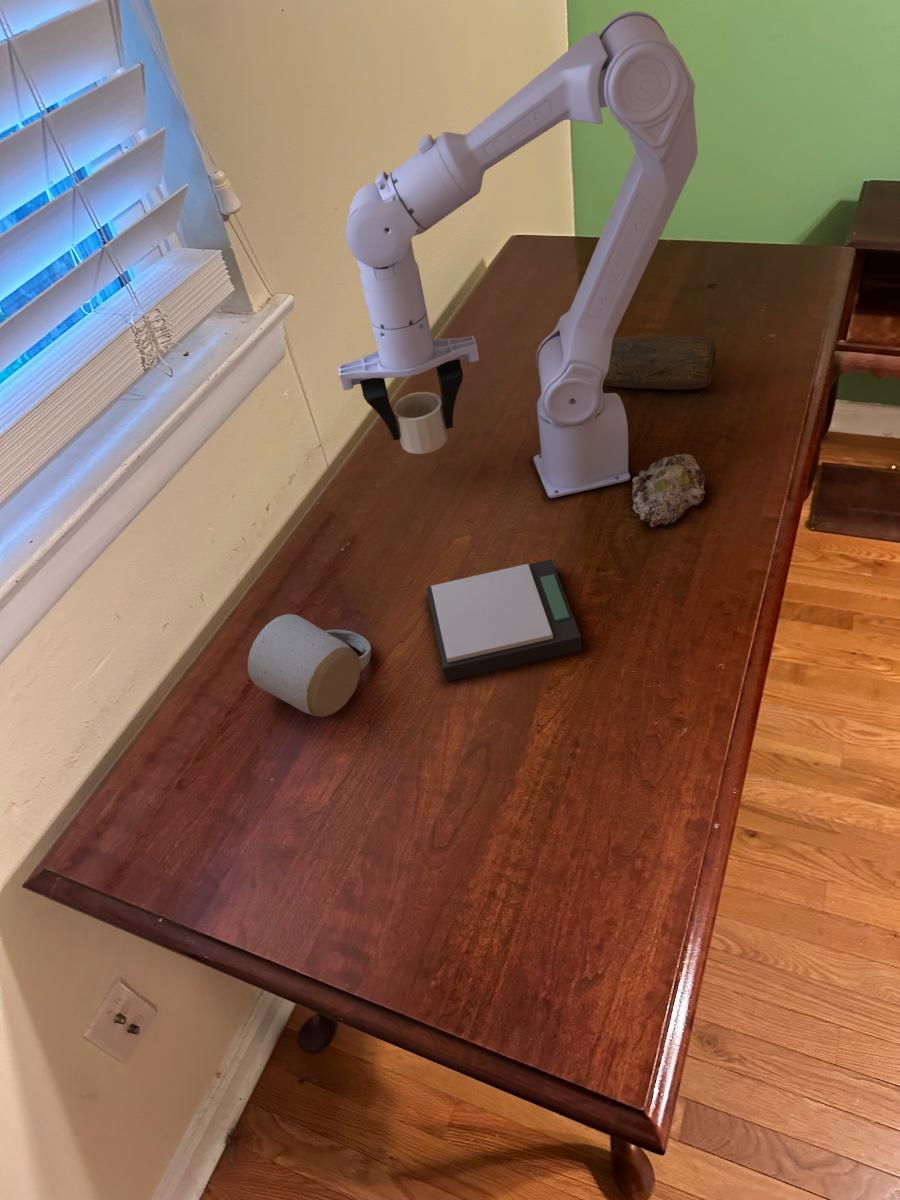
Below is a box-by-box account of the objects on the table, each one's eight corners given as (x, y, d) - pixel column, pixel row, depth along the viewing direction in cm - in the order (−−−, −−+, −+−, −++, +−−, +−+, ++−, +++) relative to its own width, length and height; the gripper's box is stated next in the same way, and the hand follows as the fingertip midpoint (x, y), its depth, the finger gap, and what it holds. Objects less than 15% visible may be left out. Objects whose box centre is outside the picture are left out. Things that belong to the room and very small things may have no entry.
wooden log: (714, 370, 109) (718, 321, 104) (711, 400, 104) (715, 351, 99) (597, 369, 113) (595, 322, 108) (589, 399, 108) (586, 351, 104)
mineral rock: (642, 445, 96) (711, 441, 91) (652, 476, 99) (720, 473, 94) (607, 506, 90) (679, 505, 85) (619, 537, 93) (690, 537, 88)
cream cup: (444, 421, 97) (437, 387, 94) (451, 447, 94) (445, 413, 90) (398, 431, 97) (390, 398, 94) (403, 458, 94) (395, 424, 90)
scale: (552, 573, 87) (551, 554, 86) (582, 650, 80) (580, 632, 78) (429, 601, 87) (425, 583, 86) (446, 681, 80) (442, 663, 78)
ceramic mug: (323, 737, 77) (301, 683, 72) (260, 703, 81) (234, 649, 76) (394, 659, 83) (378, 604, 77) (332, 630, 87) (313, 576, 81)
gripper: (462, 282, 88) (480, 396, 97) (325, 313, 88) (356, 423, 97) (474, 313, 83) (491, 429, 92) (329, 345, 83) (361, 458, 92)
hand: (422, 429), depth 95 cm, fingers closed on cream cup, 5 cm apart
